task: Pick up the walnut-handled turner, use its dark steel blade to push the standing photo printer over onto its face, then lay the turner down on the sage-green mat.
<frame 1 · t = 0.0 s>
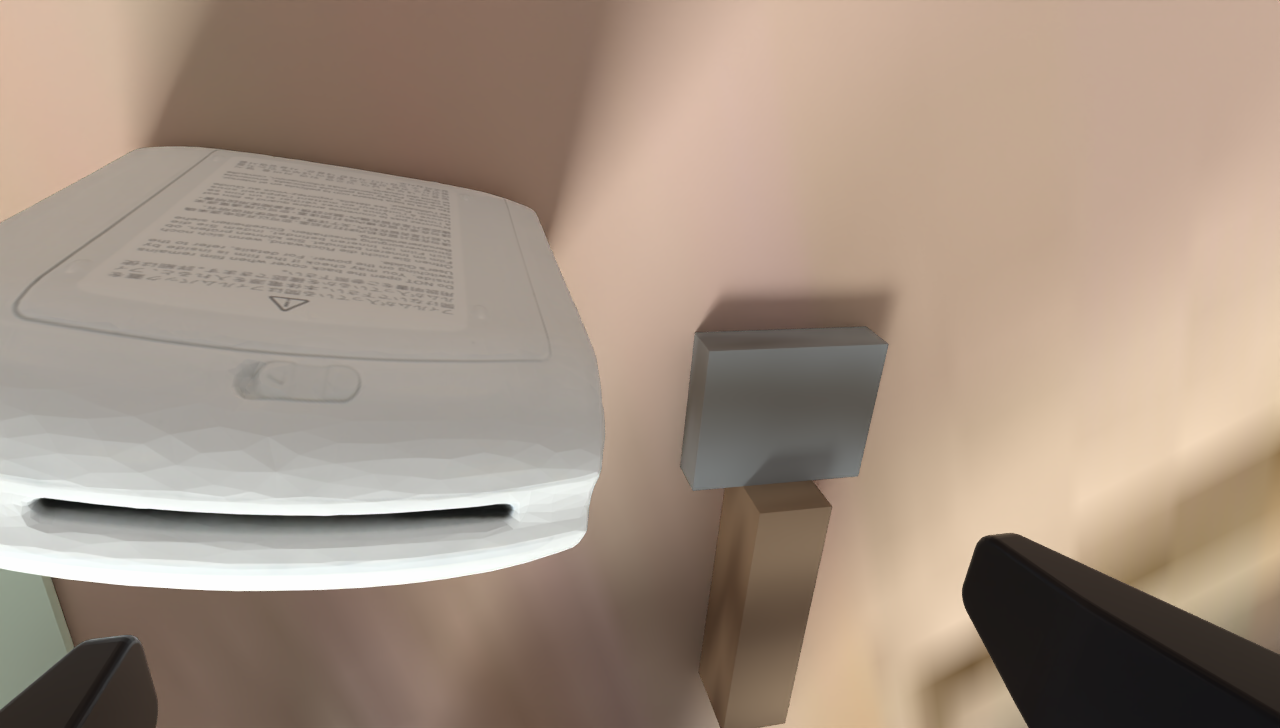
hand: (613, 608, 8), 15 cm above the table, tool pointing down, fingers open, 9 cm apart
photo printer: (347, 238, 20), on the table
turner: (753, 505, 28), on the table
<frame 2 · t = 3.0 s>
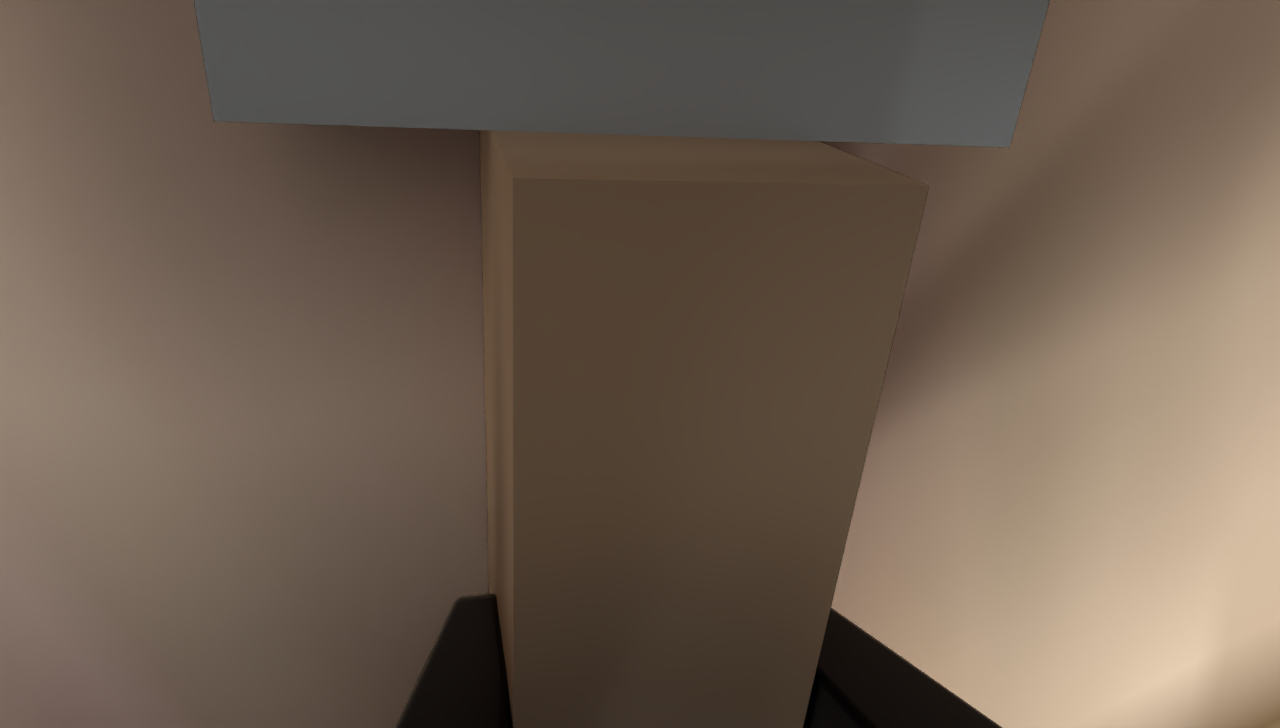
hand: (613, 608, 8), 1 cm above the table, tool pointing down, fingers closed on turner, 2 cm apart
turner: (608, 312, 8), on the table, touching gripper
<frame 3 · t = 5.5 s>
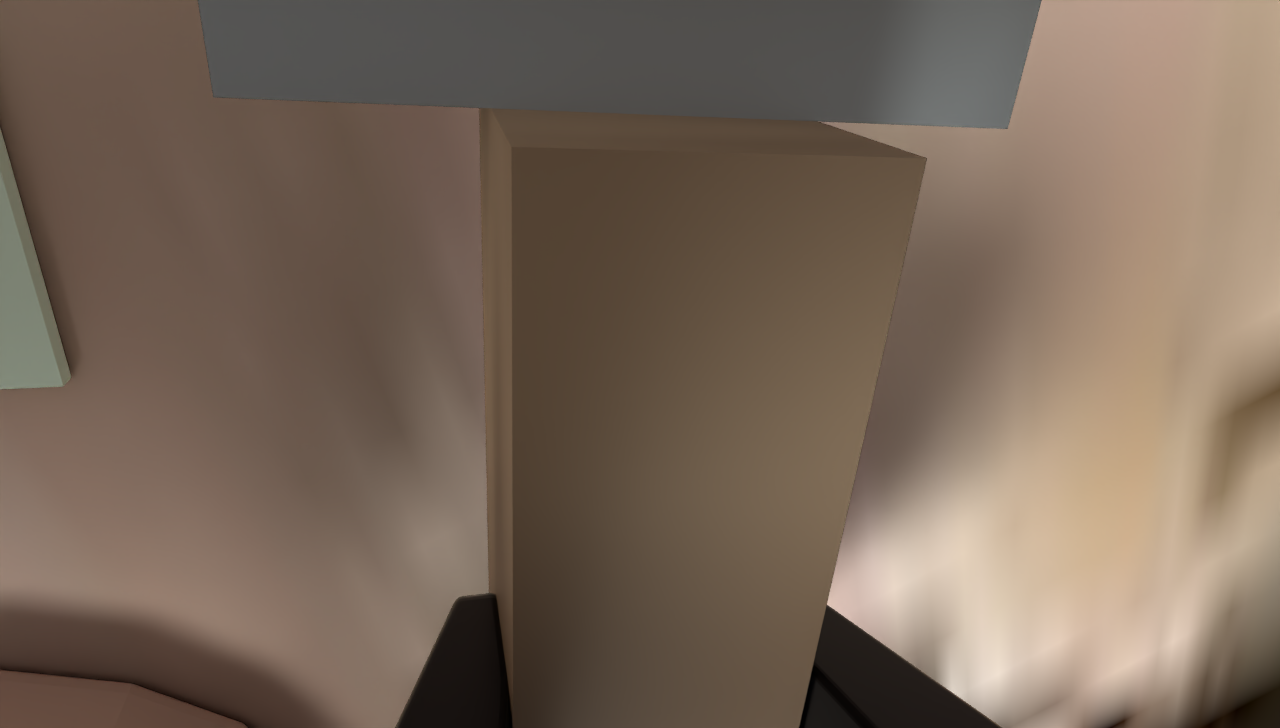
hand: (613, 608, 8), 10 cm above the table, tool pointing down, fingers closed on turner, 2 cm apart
turner: (607, 298, 8), point 9 cm above the table, touching gripper
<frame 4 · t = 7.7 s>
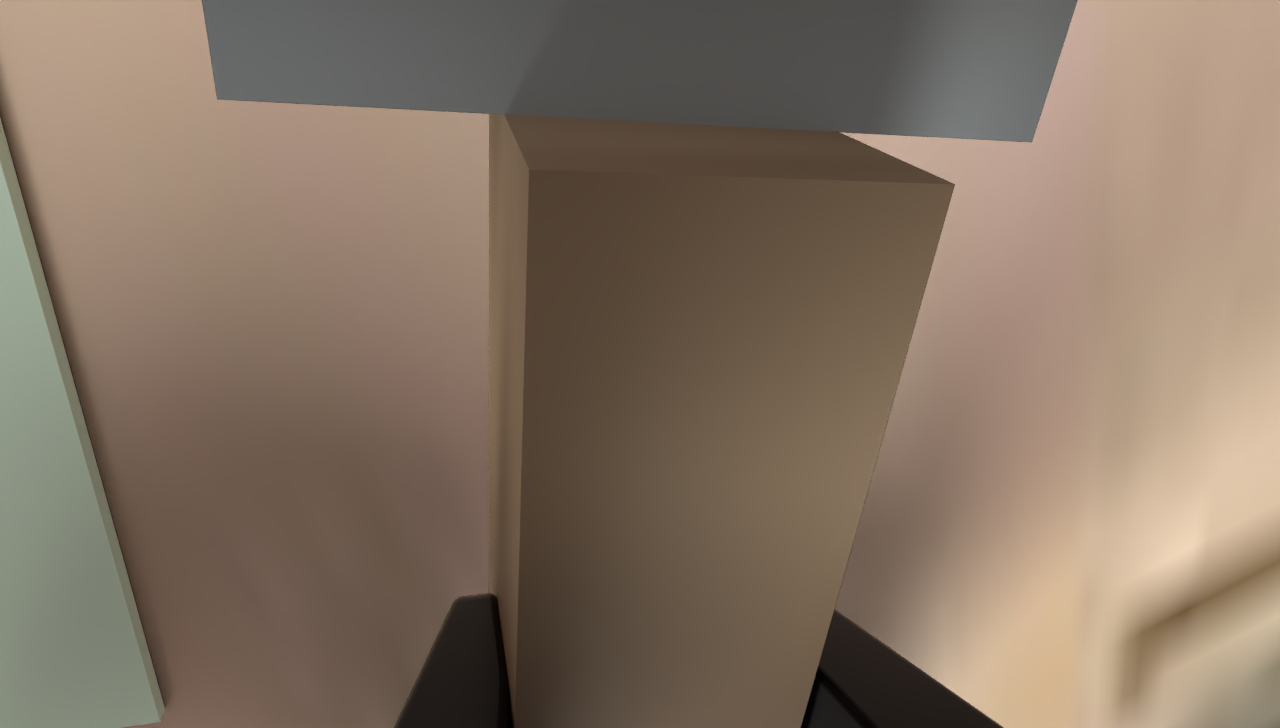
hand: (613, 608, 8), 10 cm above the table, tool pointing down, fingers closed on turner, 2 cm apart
turner: (615, 299, 8), point 9 cm above the table, touching gripper
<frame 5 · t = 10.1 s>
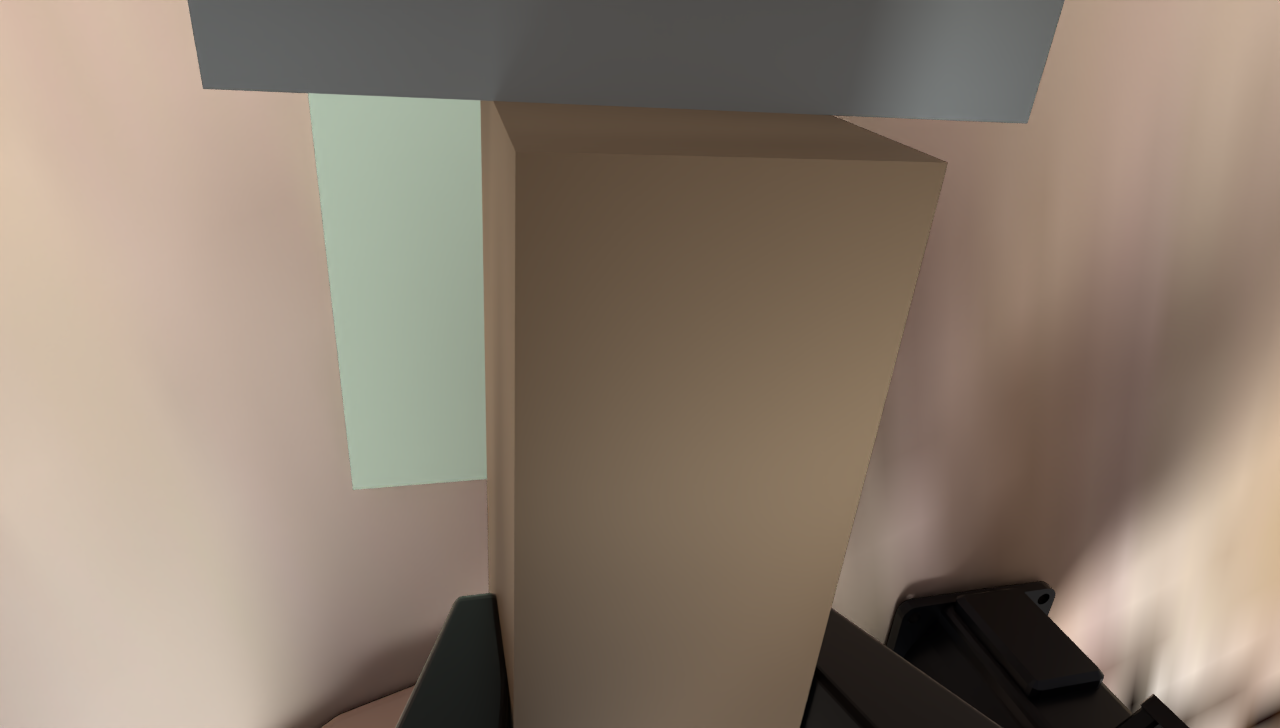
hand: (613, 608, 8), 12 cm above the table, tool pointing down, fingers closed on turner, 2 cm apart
turner: (611, 289, 8), point 11 cm above the table, touching gripper
mat: (505, 133, 17), on the table
when the fingers open (2 cm above the table, at t = 12.0 s): turner stays where it is, resting on mat.
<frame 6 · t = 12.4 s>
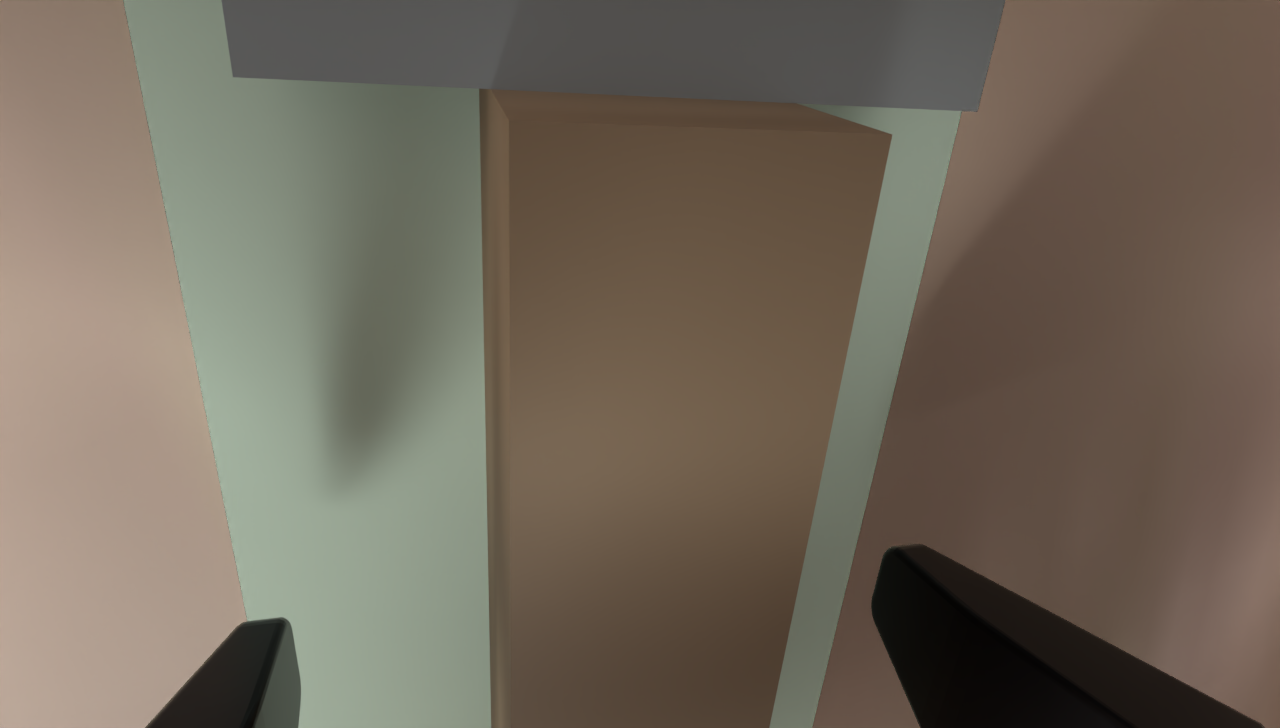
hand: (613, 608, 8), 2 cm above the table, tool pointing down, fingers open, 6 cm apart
turner: (601, 274, 8), resting on mat
mat: (589, 279, 9), on the table
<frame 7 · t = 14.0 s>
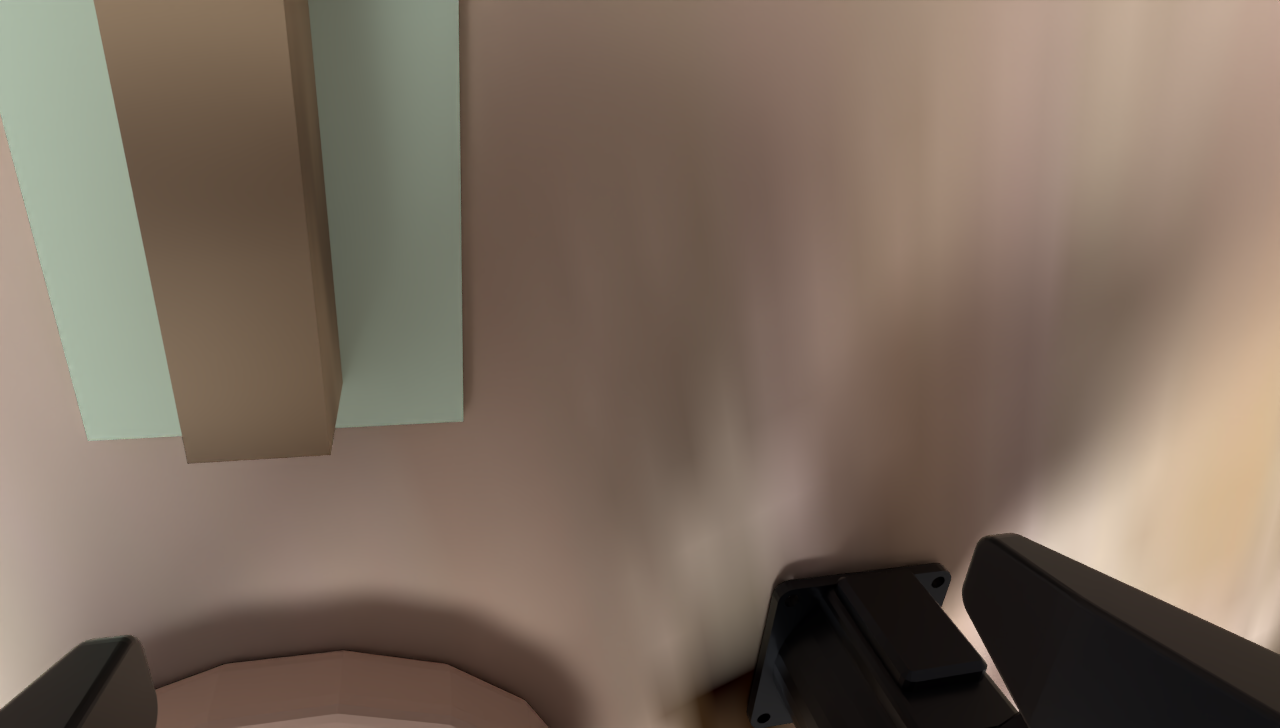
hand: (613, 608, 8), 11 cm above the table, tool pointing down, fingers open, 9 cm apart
mat: (235, 3, 14), on the table
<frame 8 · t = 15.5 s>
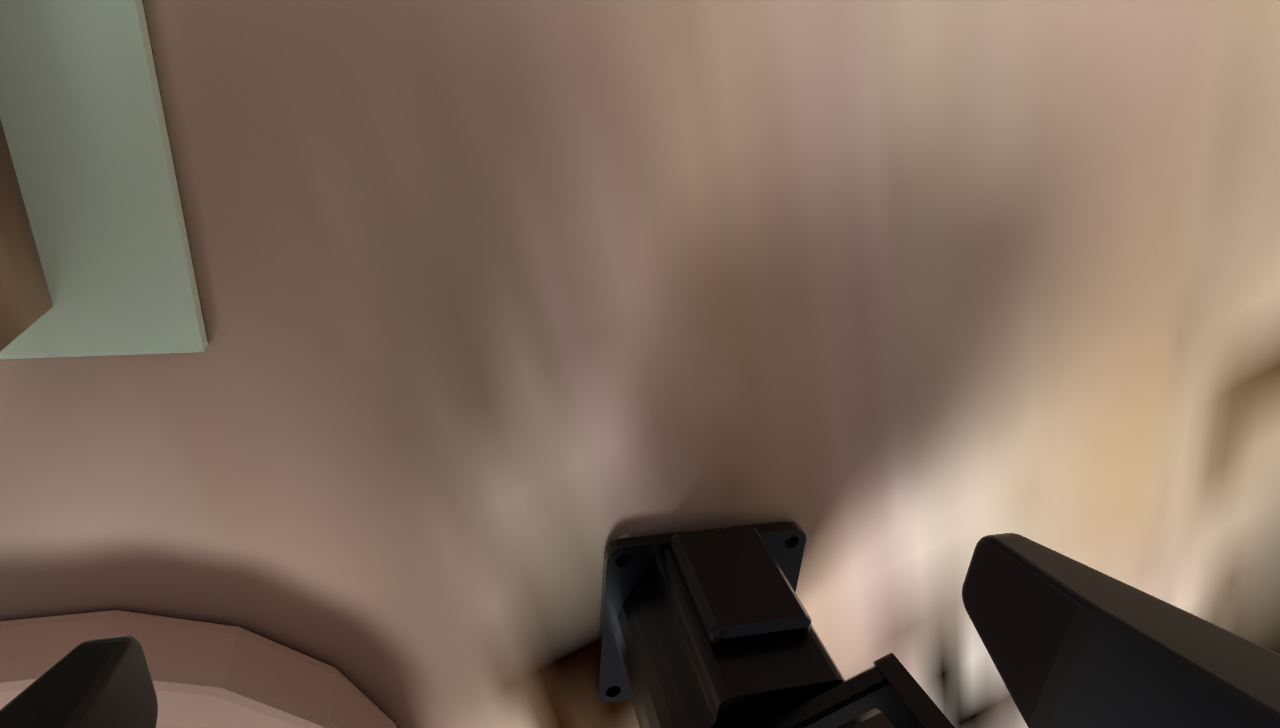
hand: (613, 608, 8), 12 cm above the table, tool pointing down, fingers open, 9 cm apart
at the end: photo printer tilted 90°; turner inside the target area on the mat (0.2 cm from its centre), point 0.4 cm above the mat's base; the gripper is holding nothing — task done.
